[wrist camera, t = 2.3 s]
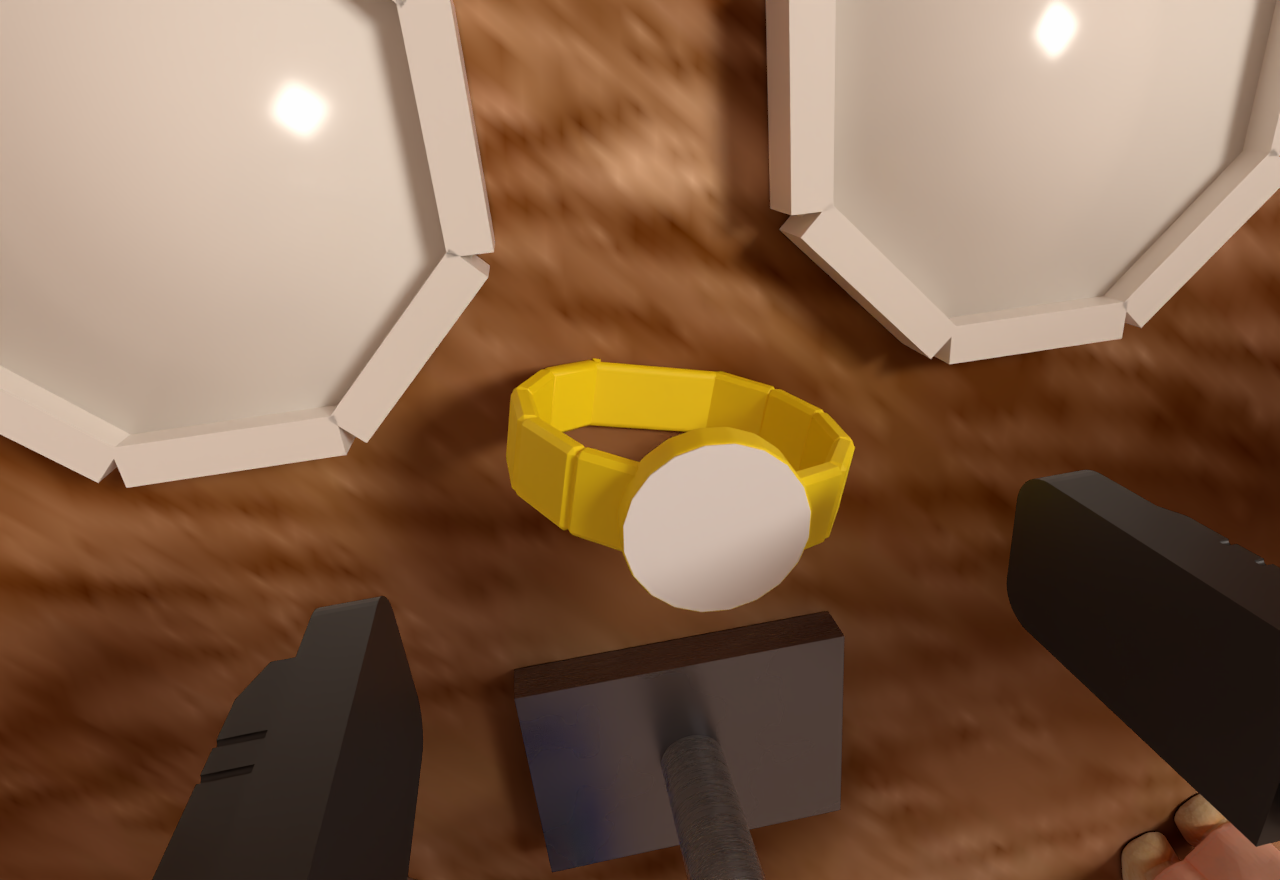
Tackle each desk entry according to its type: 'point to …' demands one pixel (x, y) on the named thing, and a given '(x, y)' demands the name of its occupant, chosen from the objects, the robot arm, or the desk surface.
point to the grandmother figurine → (1200, 850)
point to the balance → (686, 744)
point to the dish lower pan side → (228, 225)
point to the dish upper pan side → (1019, 157)
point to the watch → (682, 475)
